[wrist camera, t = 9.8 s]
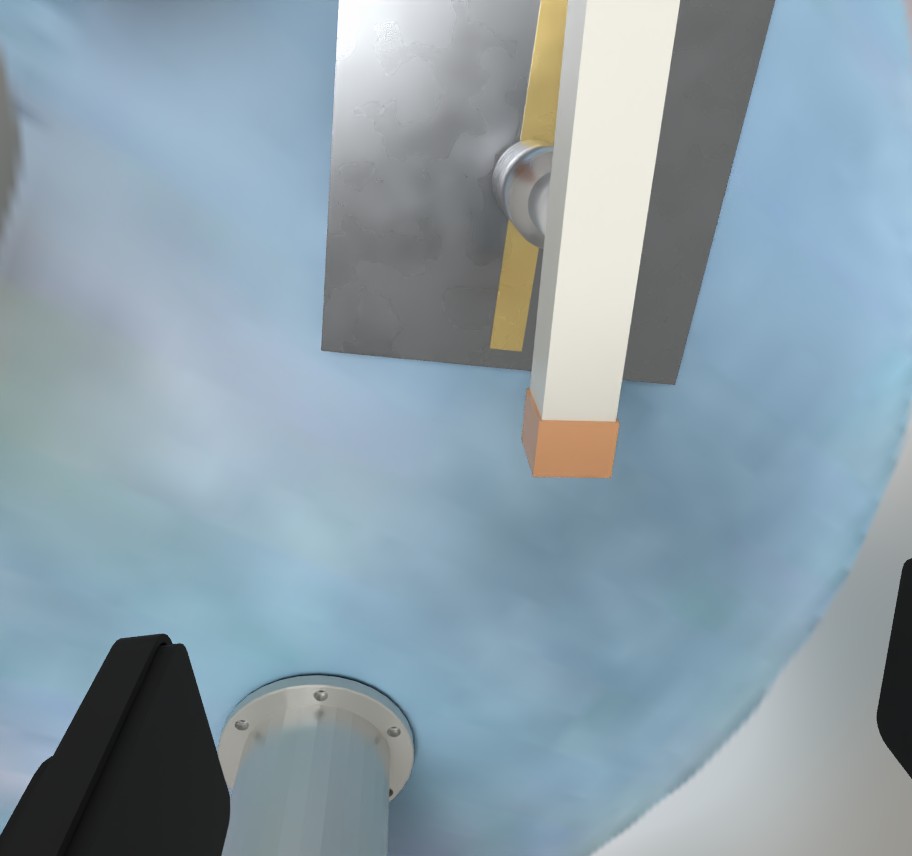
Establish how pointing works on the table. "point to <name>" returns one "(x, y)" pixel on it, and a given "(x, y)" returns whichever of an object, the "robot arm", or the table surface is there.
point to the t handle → (594, 228)
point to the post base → (443, 163)
